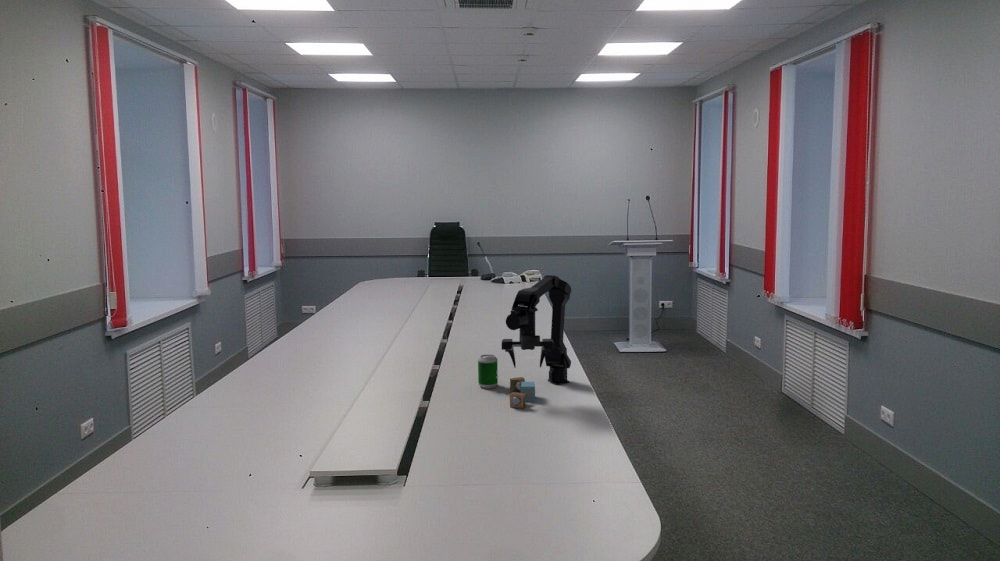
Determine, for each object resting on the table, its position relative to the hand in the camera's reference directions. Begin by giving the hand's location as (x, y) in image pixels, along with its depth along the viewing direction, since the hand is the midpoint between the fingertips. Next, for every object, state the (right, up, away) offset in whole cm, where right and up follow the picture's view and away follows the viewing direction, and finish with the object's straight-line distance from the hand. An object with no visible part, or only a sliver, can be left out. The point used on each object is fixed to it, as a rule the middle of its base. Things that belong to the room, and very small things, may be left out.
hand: (527, 367), depth 235 cm
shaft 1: (-3, -11, +10) cm, 15 cm away
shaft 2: (-3, -13, -6) cm, 15 cm away
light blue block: (0, -12, +2) cm, 12 cm away
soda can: (-15, -10, +17) cm, 25 cm away
